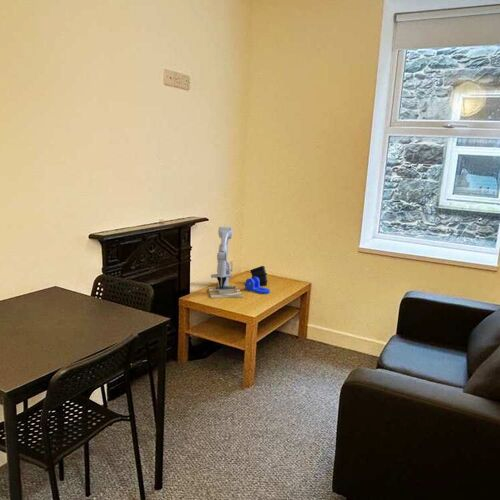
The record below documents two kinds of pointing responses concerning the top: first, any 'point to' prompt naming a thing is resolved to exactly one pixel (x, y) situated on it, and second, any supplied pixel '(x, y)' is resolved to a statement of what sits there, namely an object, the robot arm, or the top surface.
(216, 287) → the retention strap
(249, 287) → the bracket
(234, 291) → the lugs
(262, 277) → the black rectangular slab
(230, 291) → the heat sink
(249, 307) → the top surface
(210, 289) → the board
